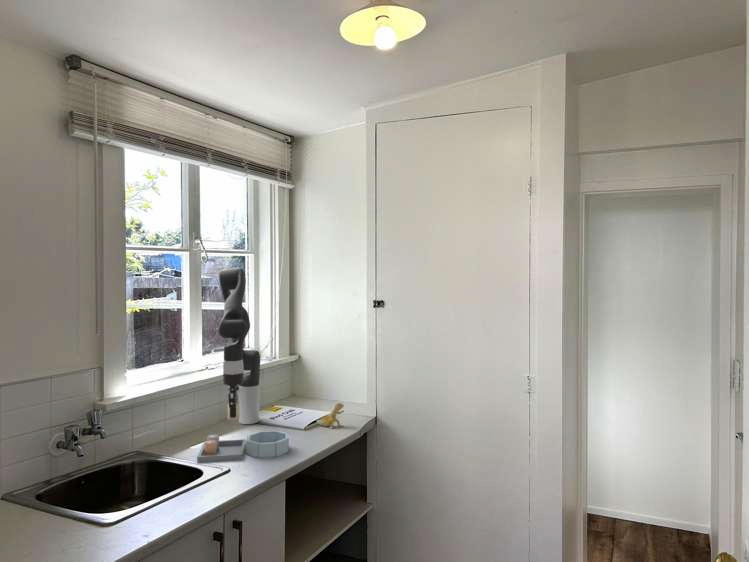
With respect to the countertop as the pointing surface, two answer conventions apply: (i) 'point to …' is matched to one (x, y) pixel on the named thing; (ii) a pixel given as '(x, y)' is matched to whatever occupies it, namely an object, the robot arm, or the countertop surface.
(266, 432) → the bowl
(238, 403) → the pebble sand
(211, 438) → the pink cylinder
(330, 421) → the toy
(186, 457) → the countertop surface
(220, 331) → the robot arm
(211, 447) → the pebble rust
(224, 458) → the tray
